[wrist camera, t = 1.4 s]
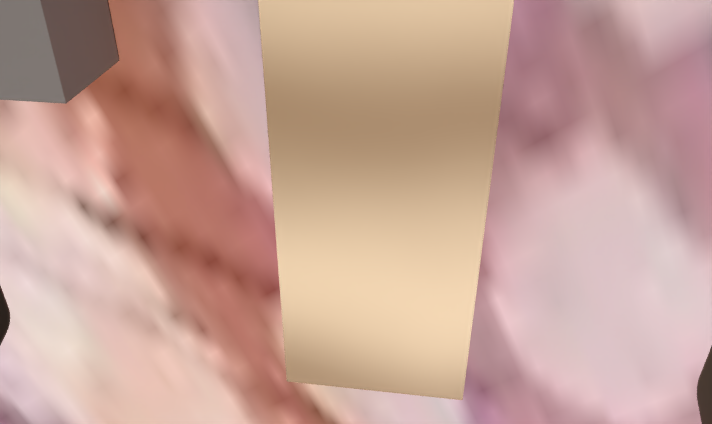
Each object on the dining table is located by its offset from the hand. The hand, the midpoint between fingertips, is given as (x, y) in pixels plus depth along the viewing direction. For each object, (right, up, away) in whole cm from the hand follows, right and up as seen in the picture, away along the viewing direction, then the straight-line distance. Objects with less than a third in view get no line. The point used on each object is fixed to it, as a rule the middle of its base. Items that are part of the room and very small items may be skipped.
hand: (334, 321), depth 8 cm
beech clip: (+2, +6, +9) cm, 11 cm away
